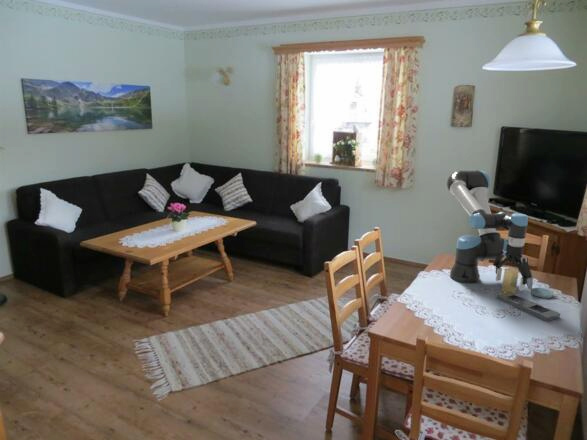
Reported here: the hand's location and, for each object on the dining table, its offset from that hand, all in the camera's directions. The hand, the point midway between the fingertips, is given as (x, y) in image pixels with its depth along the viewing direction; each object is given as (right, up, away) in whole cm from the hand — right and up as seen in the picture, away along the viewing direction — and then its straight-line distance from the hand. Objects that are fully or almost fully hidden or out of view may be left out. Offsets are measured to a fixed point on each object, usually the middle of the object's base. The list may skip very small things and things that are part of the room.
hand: (509, 285), depth 216 cm
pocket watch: (+15, -5, -2) cm, 16 cm away
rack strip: (0, -8, -16) cm, 18 cm away
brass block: (0, -4, +1) cm, 4 cm away
